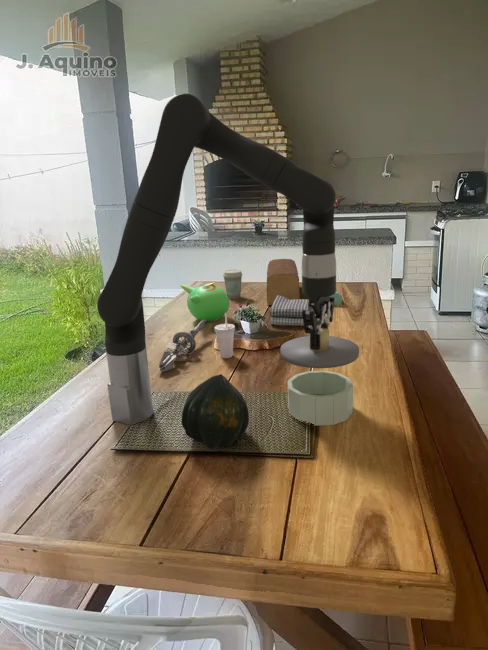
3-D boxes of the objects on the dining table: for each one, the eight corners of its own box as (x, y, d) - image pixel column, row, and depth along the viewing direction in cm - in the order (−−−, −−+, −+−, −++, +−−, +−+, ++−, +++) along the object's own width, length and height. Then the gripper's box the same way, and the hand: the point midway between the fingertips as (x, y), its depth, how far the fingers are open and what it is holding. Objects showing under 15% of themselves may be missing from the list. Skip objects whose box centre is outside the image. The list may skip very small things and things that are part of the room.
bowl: (338, 430, 114) (339, 402, 112) (278, 417, 121) (277, 390, 119) (360, 402, 126) (360, 376, 124) (303, 392, 133) (303, 367, 131)
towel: (269, 327, 187) (268, 306, 185) (275, 313, 204) (274, 294, 202) (311, 327, 185) (310, 306, 182) (313, 313, 202) (313, 293, 199)
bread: (297, 286, 245) (296, 256, 240) (300, 305, 212) (300, 272, 208) (267, 287, 246) (266, 258, 241) (266, 307, 213) (265, 273, 209)
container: (324, 278, 232) (331, 290, 208) (336, 282, 232) (344, 295, 208) (319, 290, 233) (325, 303, 209) (331, 294, 234) (339, 308, 210)
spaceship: (217, 315, 176) (197, 306, 177) (175, 363, 146) (150, 352, 147) (212, 334, 180) (191, 325, 181) (169, 385, 150) (145, 374, 151)
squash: (175, 440, 102) (219, 380, 102) (165, 411, 116) (204, 358, 116) (229, 472, 108) (272, 414, 107) (213, 440, 122) (251, 389, 121)
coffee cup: (221, 299, 227) (220, 273, 223) (227, 295, 235) (226, 269, 231) (240, 300, 225) (238, 273, 221) (245, 295, 232) (244, 269, 229)
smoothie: (234, 360, 157) (231, 316, 153) (214, 359, 159) (210, 316, 154) (238, 352, 163) (236, 310, 159) (219, 352, 165) (216, 310, 160)
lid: (343, 373, 107) (343, 348, 106) (267, 361, 116) (266, 337, 114) (369, 345, 122) (369, 323, 120) (299, 336, 131) (299, 315, 129)
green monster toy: (236, 322, 194) (234, 284, 189) (193, 330, 188) (190, 291, 183) (220, 311, 210) (218, 276, 205) (180, 317, 204) (177, 281, 199)
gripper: (322, 281, 106) (323, 358, 111) (346, 267, 117) (345, 338, 123) (289, 278, 109) (291, 353, 115) (315, 265, 121) (315, 334, 126)
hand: (319, 345), depth 119 cm, fingers closed on lid, 4 cm apart
